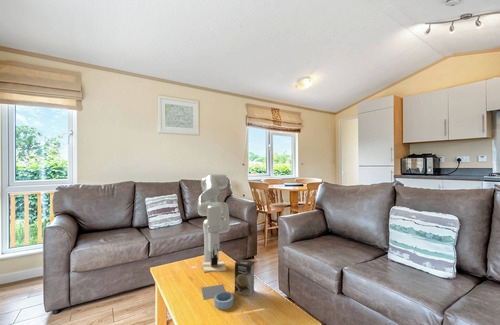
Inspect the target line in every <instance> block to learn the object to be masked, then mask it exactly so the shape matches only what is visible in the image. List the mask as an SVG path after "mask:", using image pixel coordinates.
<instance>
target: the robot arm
mask: <svg viewBox="0 0 500 325" xmlns="http://www.w3.org/2000/svg"><path fill="white" fill-rule="evenodd" d="M228 185H229V180H228V177H227V175H226V174H220V173H219V174H217V173H216V174H208V175H207V176H205V177H202V178H201V180H200V186H201V190H202V193H201V194H200V195H199V197H198V199H197V213H198V215H199V216H200V217H206V219H204V221H203V223H202V228H203V229H202V230H203V241H204V242H203V244H204V246H203V248H204V250H203V251H204V252H203V254H204V256H203V257H204V258H203V262H209V261H211V264H212V265H217V264H218V260H220V234H221V233H228V232H229V231H230V226H231V225H230V211H229V209H230V208H229V204H228V203H227V202H224V201H222V202H221V201H218V196H219V195H220V190H223V189H226V188H227V187H228ZM211 253H212V257H211ZM213 253H214V254H213ZM201 269H203V270H204V268H203V264H201Z"/></svg>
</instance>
